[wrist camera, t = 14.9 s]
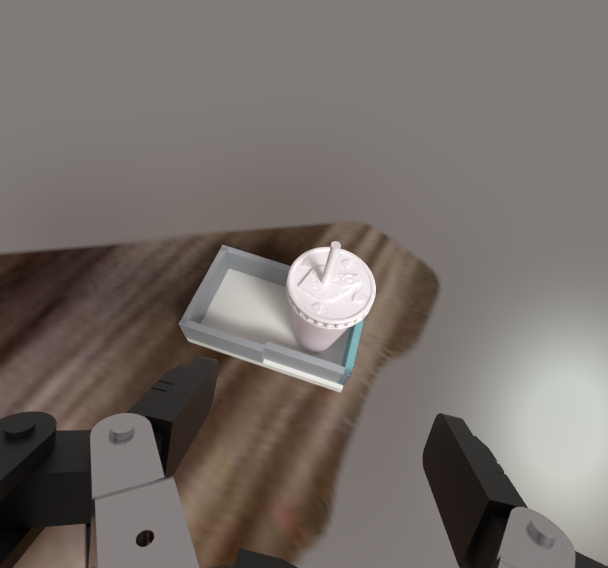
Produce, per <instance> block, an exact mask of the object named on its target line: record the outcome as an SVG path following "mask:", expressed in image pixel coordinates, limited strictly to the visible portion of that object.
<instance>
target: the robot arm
mask: <svg viewBox="0 0 608 568" xmlns="http://www.w3.org/2000/svg"><path fill="white" fill-rule="evenodd" d="M218 368H219V360H215V359H211V358H207V357H202V356H197V357H196V359H195V360H194V361H193V362H192V363H191V364H190V365H189V367H188V368H187V367H183V366H178V367H176V368H174V369H171V370H169V371H167V372H166V373H165V374H164V375H163V376H162V377H161V378H160V379H159V381H158V382H156V383H155V384H154V385H153V386H152V388H151V389H150V390H149V391H148V392H147V393H146V394H145V395H144V396H143V397H142V398H141V399H140V400H139V401H138V402H137V403H136V404H135V405H134V406H133V407H132V408H131V409H130V410H129V411H128V412H127V413H123V414H117V415H113V416H110V417H107V418H105V419H103V420H102V421H100V422H99V423H97V424H96V425H95V426H94V428H93V429H92V430H77V431H56V420H55V418H54V417H53V416H51V415H50V414H47V413H44V412H22V413H17V414H13V415H10V416H7V417H4V418H2V419H0V568H13V567H14V565H15V564H16V563H17V562H18V560H19V559H20V558H21V557H22V555H23V554H24V553H25V552H26V550H27V549H28V548H29V547H30V545H31V544H32V543H33V542H34V540H35V539H36V538H37V537H38V536H39V534H40V533H41V532H42V531H43V529H44V528H45V527H49V526H61V525H73V524H84V536H85V568H199V565H198V561H197V558H196V554H195V551H194V547H193V544H192V540H191V537H190V533H189V530H188V526H187V523H186V519H185V516H184V512H183V509H182V505H181V502H180V498H179V495H178V491H177V488H176V484H175V481H174V479H173V475H174V473H175V471H176V470H177V468H178V466H179V464H180V463H181V461H182V459H183V458H184V456H185V454H186V452H187V451H188V449H189V447H190V445H191V444H192V442H193V440H194V438H195V437H196V435H197V433H198V431H199V430H200V428H201V426H202V424H203V423H204V421H205V419H206V418H207V416H208V414H209V411H210V409H211V406H212V402H213V398H214V392H215V386H216V380H217V374H218ZM423 467H424V471H425V474H426V476H427V479H428V481H429V485H430V487H431V490H432V493H433V496H434V499H435V501H436V504H437V507H438V510H439V513H440V515H441V518H442V521H443V524H444V526H445V529H446V532H447V535H448V537H449V540H450V543H451V546H452V549H453V551H454V554H455V557H456V560H457V563H458V565H459V567H460V568H608V566H605V565H603V564H601V563H599V562H597V561H595V560H593V559H591V558H589V557H586V556H584V555H582V554H580V553H578V552H576V551H575V550H574V547H573V545H572V543H571V541H570V540H569V538H568V537H567V536H566V535H565V534H564V532H563V531H562V530H561V529H560V528H559V527H557V526H556V525H555V524H554V523H553V522H551V521H550V520H549V519H547V518H546V517H545V516H543V515H541V514H540V513H538V512H536V511H534V510H531V509H528V507H527V506H526V504H525V503H524V501H523V500H522V498H521V497H520V495H519V494H518V492H517V491H516V489H515V487H514V486H513V484H512V483H511V481H510V480H509V478H508V477H507V475H505V474H504V471H503V469H502V468H501V466H500V465H499V464H497V460H496V458H495V457H494V456H493V454H492V453H491V451H490V450H489V448H488V447H487V446H486V445H485V444H483V443H482V442H481V441H480V440H479V439H478V438H477V437H476V436H473V435H472V433H471V431H470V430H469V428H468V427H467V425H466V424H465V422H464V420H463V419H461V418H458V417H454V416H450V415H446V414H441V413H440V414H438V415H437V416H436V418H435V420H434V423H433V426H432V429H431V431H430V434H429V437H428V440H427V442H426V445H425V448H424V451H423ZM216 568H297V567H295V566H294V565H292V564H290V563H288V562H286V561H285V560H283V559H280V558H276V557H272V556H268V555H264V554H260V553H256V552H252V551H248V550H244V549H240V548H239V550H238V554H237V558H236V562H235V565H227V566H221V567H216Z"/></svg>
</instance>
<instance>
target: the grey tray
mask: <svg viewBox="0 0 608 568" xmlns="http://www.w3.org/2000/svg"><path fill="white" fill-rule="evenodd" d="M290 268H291V266H289V265H285V264H282V263H279V262H276V261H273V260H270V259H266V258H263V257H260V256H257V255H254V254H250V253H247V252H244V251H241V250H238V249H234V248H231V247H228V246H225V245H222V247H221V249H220V251H219V252H218V254H217V256H216V258H215V260H214V261H213V263H212V265H211V267H210V269H209V270H208V272H207V274H206V276H205V278H204V279H203V281H202V283H201V285H200V286H199V288H198V290H197V292H196V294H195V295H194V297H193V299H192V301H191V303H190V304H189V306H188V308H187V310H186V312H185V313H184V315H183V317H182V319H181V320H180V322H179V326H180V328H181V329H182V331H183V333H184V335H185V336H186V338H187V340H188V341H189V342H192V343H195V344H198V345H201V346H204V347H207V348H210V349H213V350H216V351H219V352H222V353H225V354H227V355H230V356H233V357H236V358H239V359H242V360H245V361H248V362H251V363H254V364H257V365H260V366H263V367H266V368H269V369H272V370H275V371H278V372H281V373H284V374H287V375H290V376H293V377H296V378H299V379H302V380H305V381H307V382H310V383H313V384H316V385H319V386H322V387H325V388H328V389H331V390H334V391H337V392H341V391H342V388H343V385H344V384H345V383H346V382H347V380H348V379H349V378H350V377H351V373H352V369H353V364H354V360H355V356H356V351H357V347H358V343H359V338H360V334H361V330H362V326H363V321H364V318H363V319H362V320H361V321H360V322H358V323H357V324H355V325H353V326H351V327H348V328H347V329H346V331H345V332H344V333H343V334H342V335H341V336H340V337H339V338H338V339H337V340H336V341H335V342H334V343H333V344H332V345H331V346H330V347H329V348H328V349H327V350H325V351H323V352H320V353H311V352H308V351H306V350H304V349H303V348H301V347H300V346H299V344H298V343H297V341H296V337H295V329H294V320H293V311H292V306H291V305H290V303H289V300H288V297H287V294H286V282H287V278H288V273H289V270H290Z"/></svg>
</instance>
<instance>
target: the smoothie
mask: <svg viewBox="0 0 608 568" xmlns="http://www.w3.org/2000/svg"><path fill="white" fill-rule="evenodd" d="M340 247H341V245H340V243H339V242H336V241H335V242H332V244H331V247H320V248H315V249H312V250H309V251H307V252H305V253H303V254H302V255H300V256H299V257H298V258H297V259H296V260H295V261H294V263H293V264H292V266H291V268H290V270H289V273H288V278H287V282H286V294H287V297H288V300H289V303H290V305H291V306H292V311H293V320H294V329H295V337H296V341H297V343H298V344H299V346H300V347H301V348H303V349H304V350H306V351H308V352H311V353H320V352H323V351H325V350H327V349H328V348H329V347H330V346H331V345H332V344H333V343H334V342H335V341H336V340H337V339H338V338H339V337H340V336H341V335H342V334H343V333H344V332H345V331H346V329H347V328H348V327H351V326H353V325H355V324H357V323H358V322H360V321H361V320H362V319H363V318H364V317H365V316H366V315H367V314H368V313H369V310H370V308H371V306H372V304H373V301H374V298H375V293H376V285H375V280H374V277H373V275H372V273H371V271H370V269H369V268H368V266H367V265H366V264H365V263H364V262H363V261H362V260H361V259H360V258H358V257H357V256H356V255H354V254H352V253H350V252H348V251H346V250H343V249H340Z"/></svg>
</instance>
